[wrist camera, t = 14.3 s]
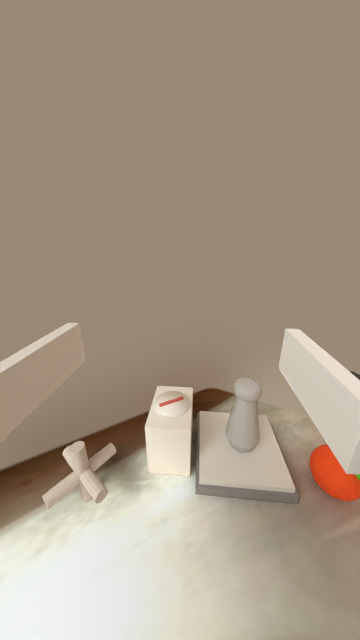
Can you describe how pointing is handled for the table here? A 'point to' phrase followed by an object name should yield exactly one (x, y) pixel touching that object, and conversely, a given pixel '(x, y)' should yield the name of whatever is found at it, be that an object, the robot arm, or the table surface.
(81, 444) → the pipe connector
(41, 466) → the table surface
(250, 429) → the salt shaker
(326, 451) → the clementine
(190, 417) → the dial scale
